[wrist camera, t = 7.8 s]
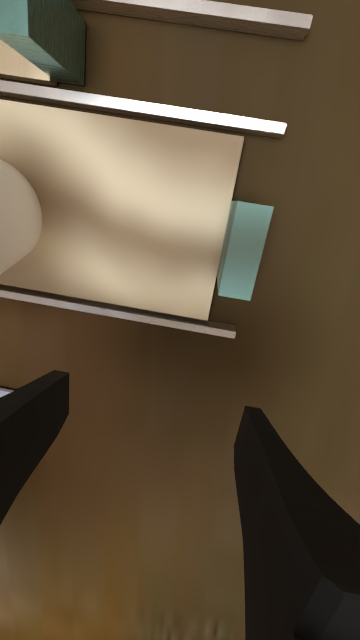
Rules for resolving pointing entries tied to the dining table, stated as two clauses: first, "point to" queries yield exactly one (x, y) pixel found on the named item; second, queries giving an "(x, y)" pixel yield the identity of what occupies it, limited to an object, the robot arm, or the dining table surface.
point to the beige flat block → (133, 210)
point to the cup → (17, 216)
